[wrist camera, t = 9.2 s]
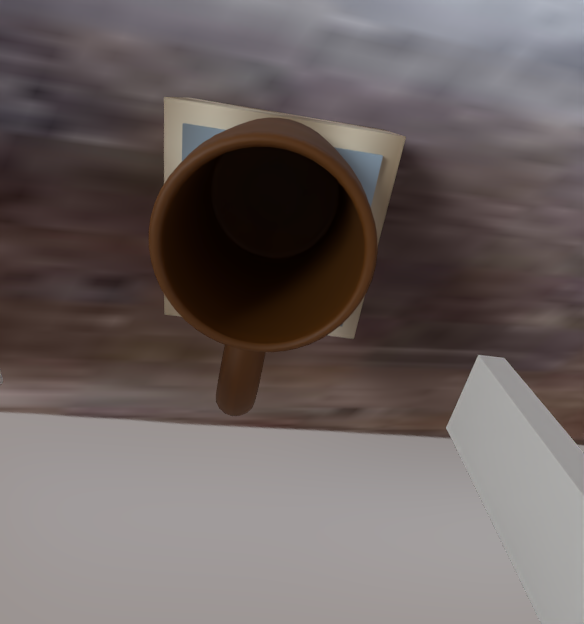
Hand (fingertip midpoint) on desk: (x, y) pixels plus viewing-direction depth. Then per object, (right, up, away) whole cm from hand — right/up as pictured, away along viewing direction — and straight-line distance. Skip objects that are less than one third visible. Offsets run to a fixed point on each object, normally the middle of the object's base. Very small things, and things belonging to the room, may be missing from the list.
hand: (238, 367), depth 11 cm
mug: (0, +6, +11) cm, 13 cm away
